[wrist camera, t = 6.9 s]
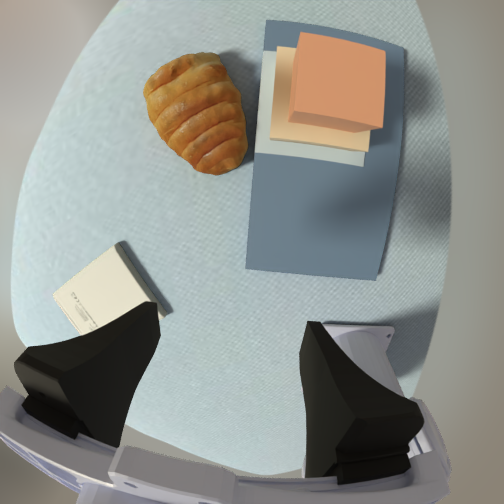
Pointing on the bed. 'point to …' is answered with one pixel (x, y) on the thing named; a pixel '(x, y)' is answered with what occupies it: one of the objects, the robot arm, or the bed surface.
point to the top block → (337, 84)
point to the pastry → (198, 112)
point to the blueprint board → (323, 180)
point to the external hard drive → (104, 291)
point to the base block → (303, 132)
